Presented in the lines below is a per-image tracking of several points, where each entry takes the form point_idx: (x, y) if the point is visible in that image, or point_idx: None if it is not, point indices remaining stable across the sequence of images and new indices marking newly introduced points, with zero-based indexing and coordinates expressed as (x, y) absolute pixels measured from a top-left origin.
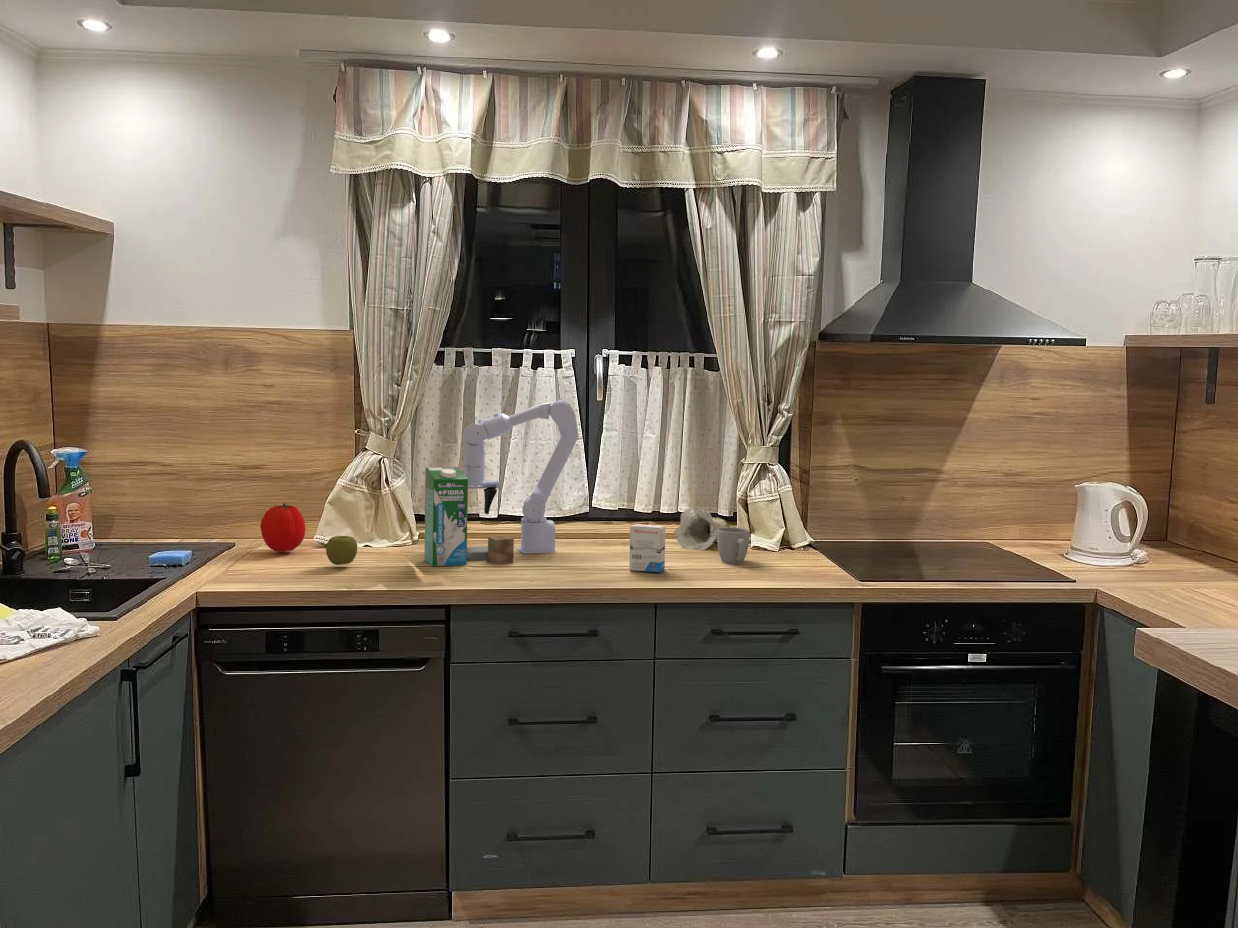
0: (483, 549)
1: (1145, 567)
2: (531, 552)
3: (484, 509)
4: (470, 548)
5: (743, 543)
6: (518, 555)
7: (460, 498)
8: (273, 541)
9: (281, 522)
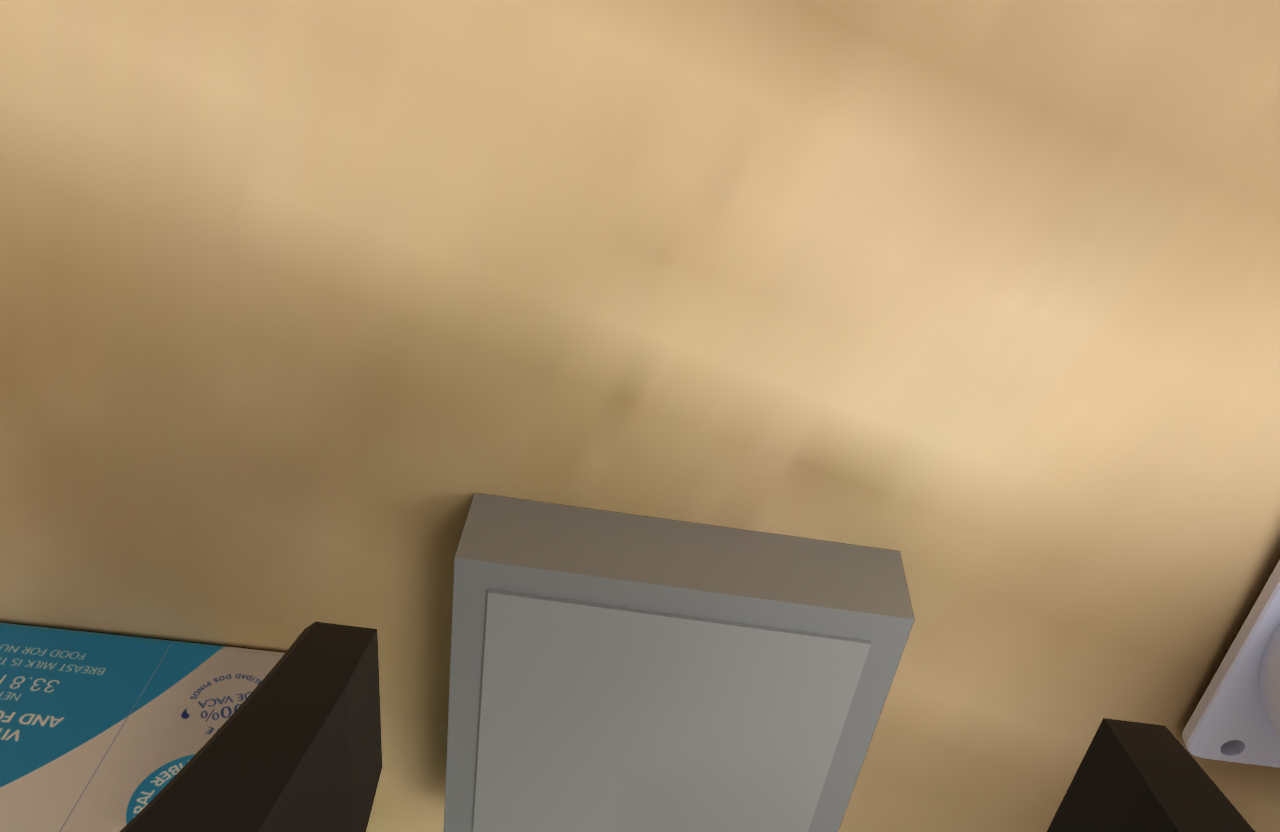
0: (652, 763)
1: None
2: (1267, 765)
3: (1141, 804)
4: (521, 670)
5: None
6: (1076, 746)
7: None
8: None
9: None
